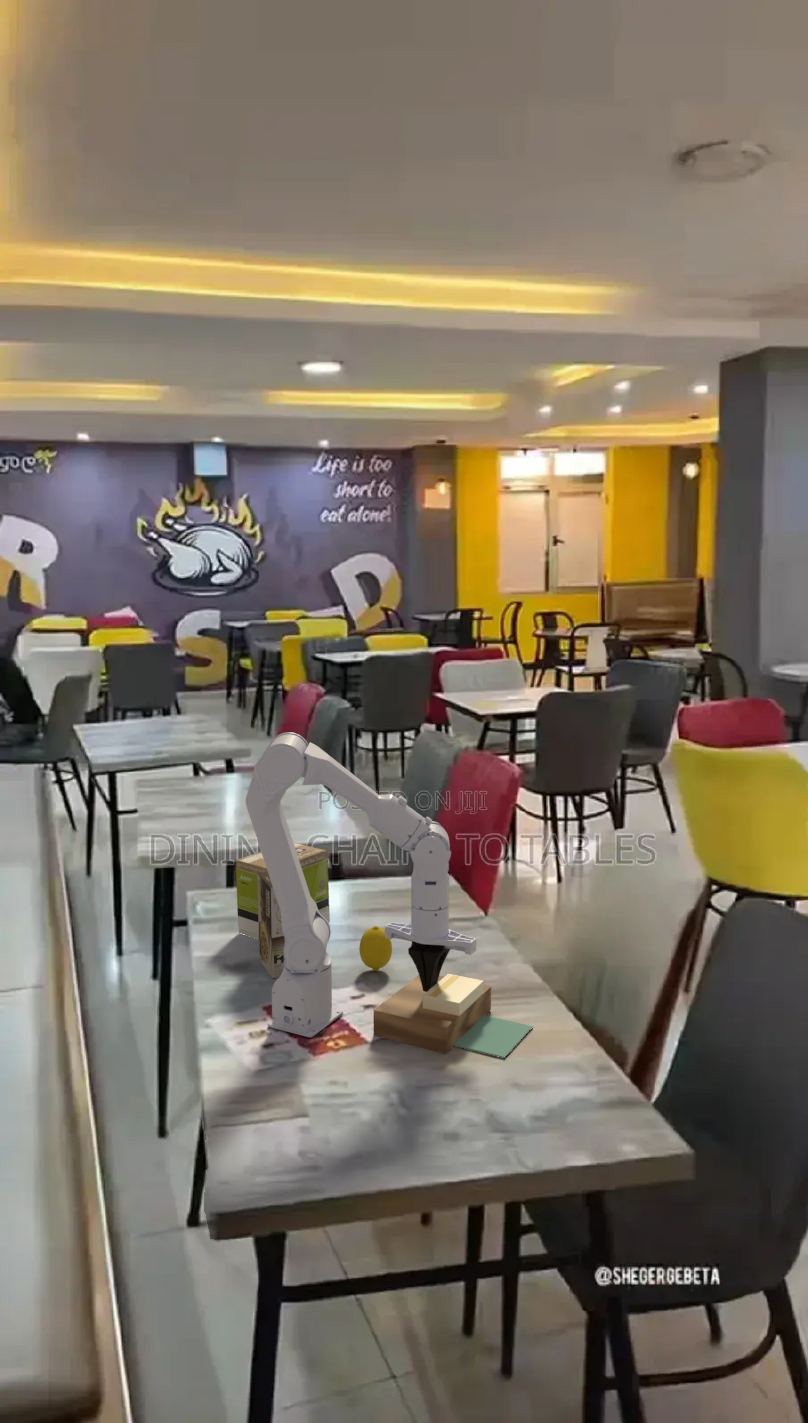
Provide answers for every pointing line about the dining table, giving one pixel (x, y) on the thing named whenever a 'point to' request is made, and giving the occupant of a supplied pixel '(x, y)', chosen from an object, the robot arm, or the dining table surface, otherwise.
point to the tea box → (248, 867)
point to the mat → (493, 1036)
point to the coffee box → (270, 927)
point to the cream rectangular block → (453, 994)
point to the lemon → (375, 948)
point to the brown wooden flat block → (425, 1019)
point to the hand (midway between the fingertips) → (429, 989)
